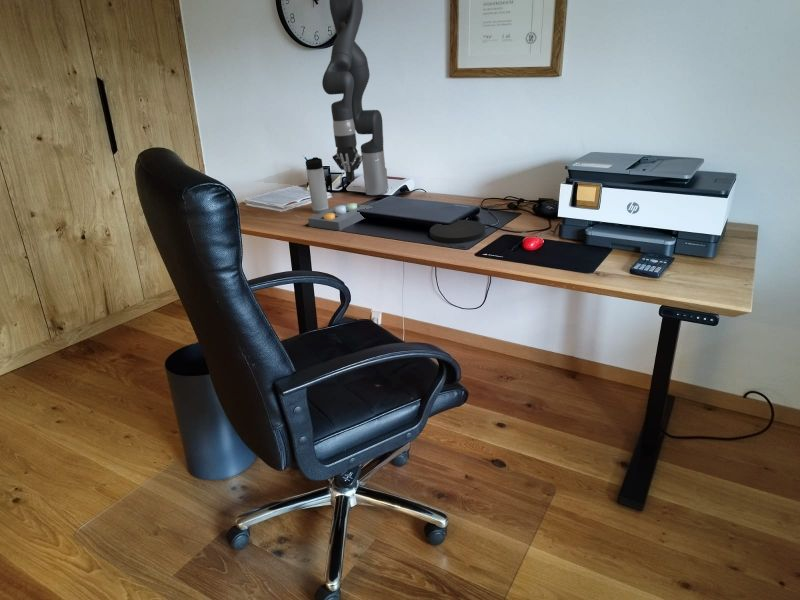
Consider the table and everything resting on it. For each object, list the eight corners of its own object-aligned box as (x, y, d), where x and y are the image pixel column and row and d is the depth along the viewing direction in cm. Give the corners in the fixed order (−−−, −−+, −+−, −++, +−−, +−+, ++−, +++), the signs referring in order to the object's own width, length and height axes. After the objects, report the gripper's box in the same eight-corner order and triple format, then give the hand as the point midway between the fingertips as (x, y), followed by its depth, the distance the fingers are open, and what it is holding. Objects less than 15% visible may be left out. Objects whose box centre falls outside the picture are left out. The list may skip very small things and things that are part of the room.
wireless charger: (443, 223, 191) (443, 218, 190) (493, 228, 183) (493, 222, 182) (420, 241, 177) (420, 235, 176) (473, 246, 169) (473, 240, 168)
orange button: (329, 221, 201) (328, 212, 199) (338, 222, 199) (336, 213, 197) (322, 225, 198) (320, 215, 196) (331, 226, 196) (329, 216, 194)
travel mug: (330, 207, 219) (323, 156, 211) (327, 212, 214) (319, 160, 205) (315, 208, 220) (307, 157, 212) (311, 213, 214) (303, 161, 206)
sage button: (351, 211, 210) (350, 202, 209) (360, 212, 208) (358, 203, 207) (345, 214, 207) (343, 205, 206) (353, 215, 205) (352, 206, 204)
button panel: (343, 210, 214) (342, 203, 213) (373, 214, 207) (372, 206, 206) (309, 226, 200) (307, 218, 198) (339, 230, 192) (338, 222, 191)
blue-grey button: (340, 214, 205) (339, 204, 204) (349, 215, 203) (347, 205, 202) (333, 217, 202) (332, 207, 201) (342, 218, 200) (340, 208, 199)
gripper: (366, 131, 195) (371, 180, 203) (336, 130, 202) (343, 177, 210) (353, 135, 190) (359, 185, 197) (323, 134, 197) (330, 182, 204)
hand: (350, 181), depth 204 cm, fingers closed
